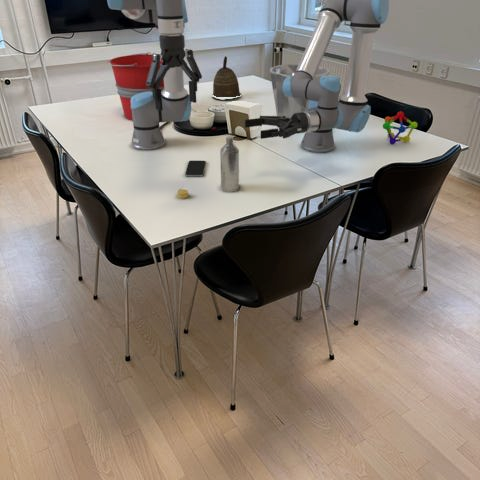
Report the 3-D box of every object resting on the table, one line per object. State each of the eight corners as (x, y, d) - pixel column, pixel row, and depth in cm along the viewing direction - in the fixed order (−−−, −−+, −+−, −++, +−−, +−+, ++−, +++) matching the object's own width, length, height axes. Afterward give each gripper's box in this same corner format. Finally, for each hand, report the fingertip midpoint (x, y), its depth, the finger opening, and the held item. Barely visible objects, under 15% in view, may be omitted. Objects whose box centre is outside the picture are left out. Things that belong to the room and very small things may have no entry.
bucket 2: (296, 138, 215) (301, 78, 201) (255, 124, 234) (256, 68, 219) (335, 125, 232) (342, 70, 217) (294, 113, 251) (297, 61, 236)
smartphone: (184, 174, 176) (189, 160, 189) (184, 176, 176) (189, 161, 189) (203, 175, 176) (206, 160, 188) (203, 176, 176) (206, 162, 189)
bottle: (242, 188, 167) (242, 137, 157) (229, 193, 163) (229, 141, 153) (230, 182, 172) (229, 133, 161) (217, 188, 168) (216, 137, 157)
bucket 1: (123, 105, 263) (116, 51, 247) (182, 106, 262) (179, 52, 247) (107, 123, 234) (97, 63, 218) (173, 124, 233) (168, 64, 217)
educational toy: (377, 146, 209) (379, 114, 202) (384, 138, 219) (386, 107, 211) (411, 149, 202) (415, 116, 195) (417, 141, 212) (420, 109, 204)
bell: (227, 105, 294) (202, 96, 282) (238, 66, 289) (213, 55, 277) (243, 108, 280) (217, 98, 268) (255, 66, 275) (229, 55, 263)
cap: (180, 193, 163) (179, 188, 162) (189, 194, 162) (189, 190, 161) (176, 198, 160) (175, 193, 159) (186, 199, 159) (185, 194, 158)
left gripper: (143, 39, 123) (150, 115, 134) (211, 32, 138) (213, 101, 149) (128, 36, 128) (137, 110, 139) (196, 29, 142) (199, 96, 154)
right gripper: (320, 142, 159) (267, 150, 151) (287, 122, 178) (239, 129, 171) (323, 121, 155) (268, 128, 147) (288, 103, 174) (239, 109, 167)
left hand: (176, 105), depth 144 cm, fingers open, 13 cm apart
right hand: (252, 129), depth 159 cm, fingers open, 13 cm apart
